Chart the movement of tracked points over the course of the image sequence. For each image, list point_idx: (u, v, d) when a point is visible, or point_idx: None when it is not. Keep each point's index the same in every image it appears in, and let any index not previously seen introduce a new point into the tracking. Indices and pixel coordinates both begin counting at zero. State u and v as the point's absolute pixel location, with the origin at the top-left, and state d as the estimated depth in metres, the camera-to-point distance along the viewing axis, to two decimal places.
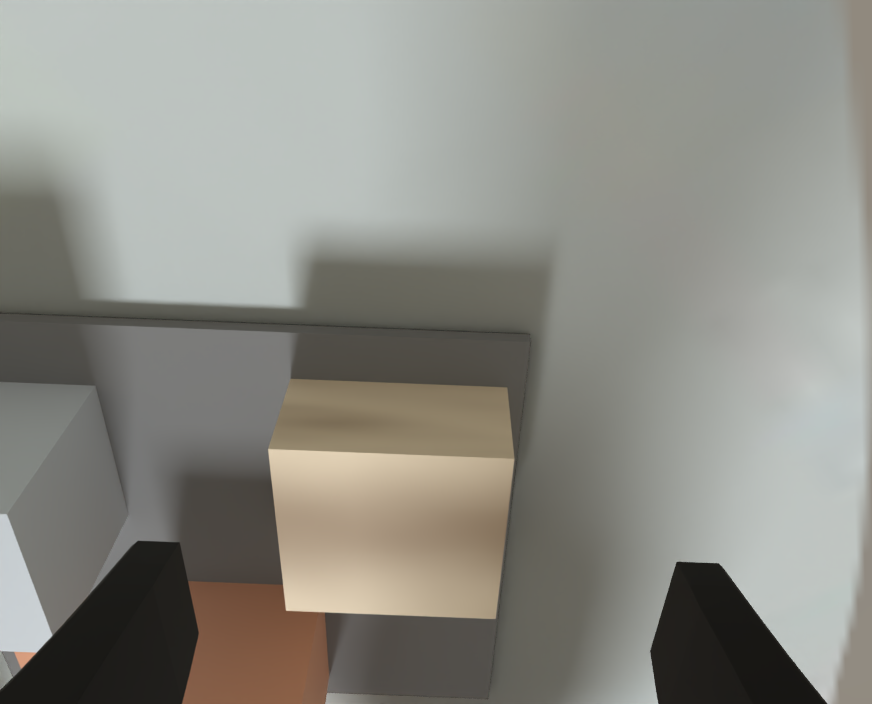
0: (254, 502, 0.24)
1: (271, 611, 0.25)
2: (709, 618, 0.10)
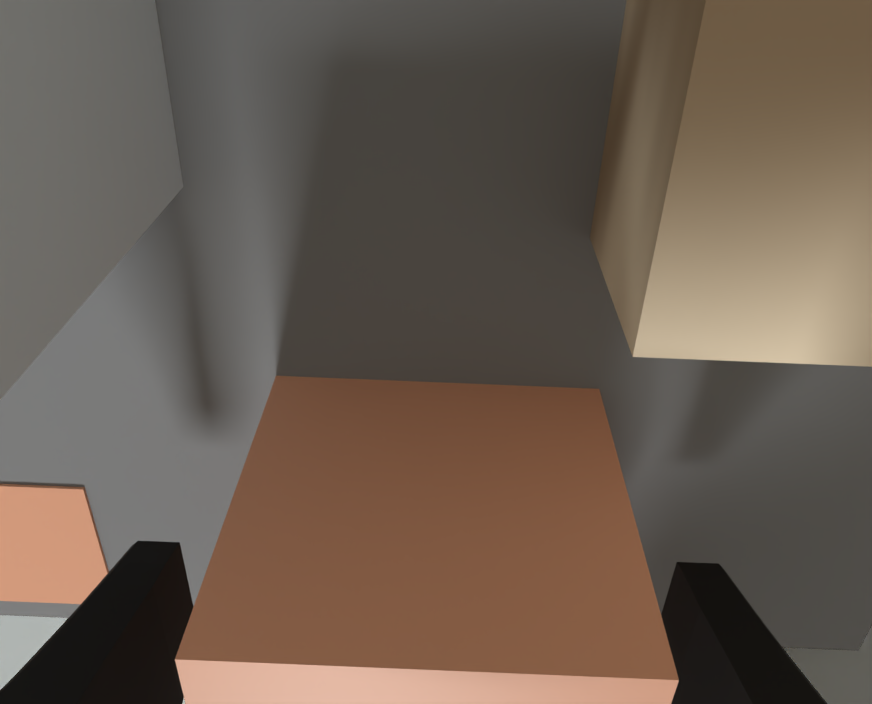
0: (490, 143, 0.10)
1: (505, 428, 0.11)
2: (709, 618, 0.10)
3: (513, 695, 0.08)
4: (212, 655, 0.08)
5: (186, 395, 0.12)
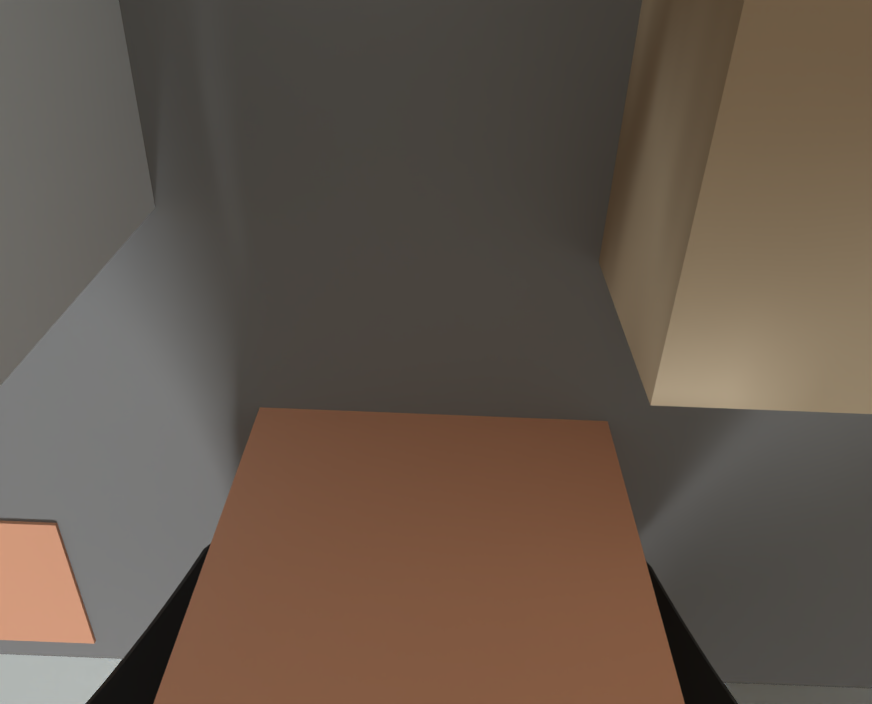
0: (490, 160, 0.09)
1: (506, 467, 0.10)
2: None
3: None
4: None
5: (163, 428, 0.11)
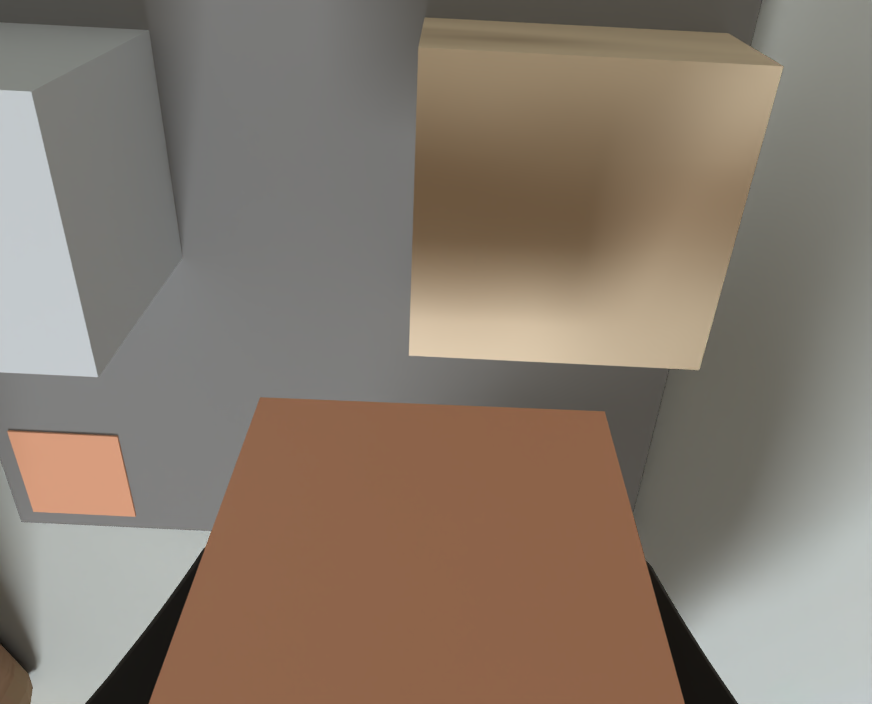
0: (354, 236, 0.18)
1: (504, 456, 0.10)
2: None
3: None
4: None
5: (182, 377, 0.20)
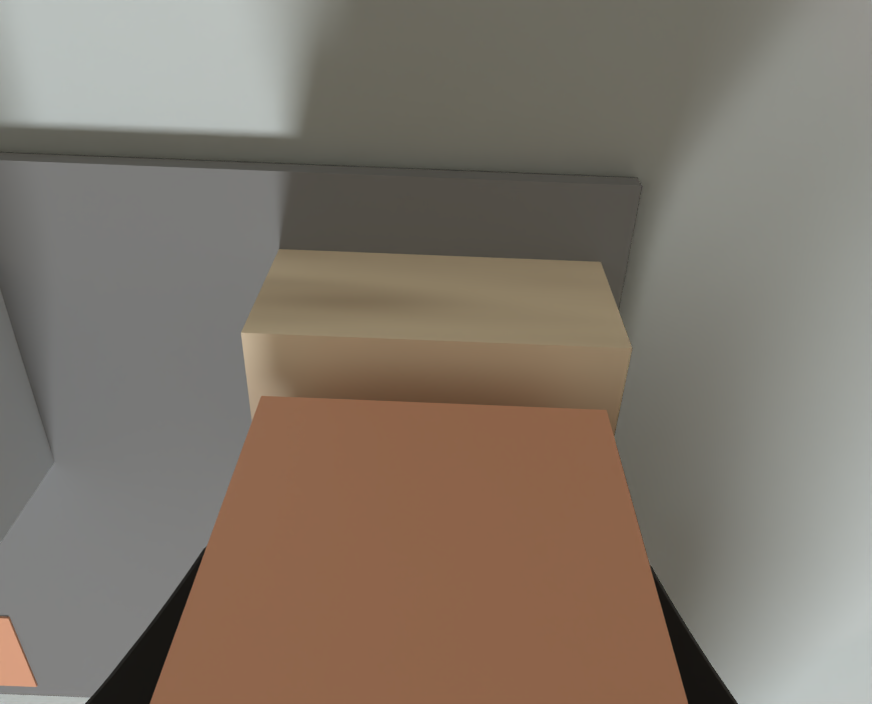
0: (230, 443, 0.17)
1: (506, 455, 0.10)
2: None
3: None
4: None
5: (69, 566, 0.19)
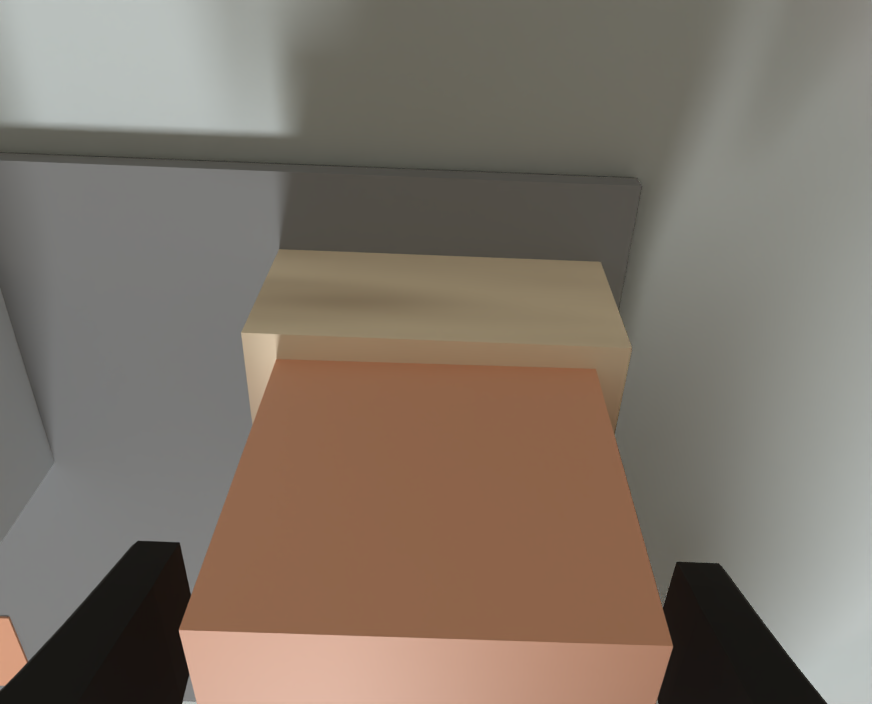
0: (230, 443, 0.17)
1: (502, 407, 0.11)
2: (709, 618, 0.10)
3: (511, 663, 0.08)
4: (215, 626, 0.08)
5: (69, 566, 0.19)
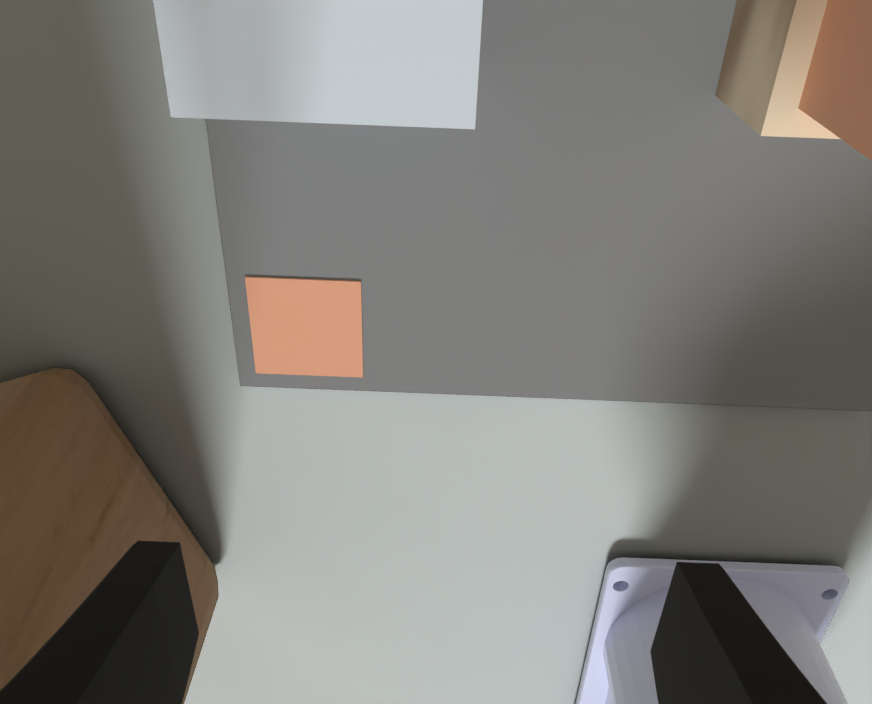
0: (660, 33, 0.16)
1: None
2: (709, 618, 0.10)
3: None
4: None
5: (443, 209, 0.19)
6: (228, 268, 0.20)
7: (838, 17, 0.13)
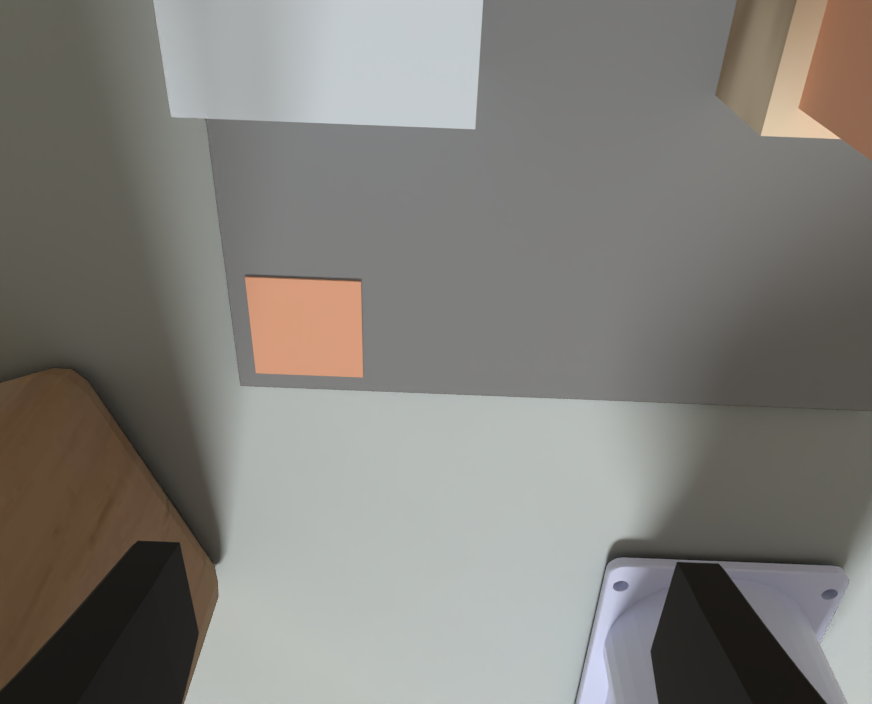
0: (660, 33, 0.16)
1: None
2: (709, 618, 0.10)
3: None
4: None
5: (443, 209, 0.19)
6: (228, 268, 0.20)
7: (838, 17, 0.13)
